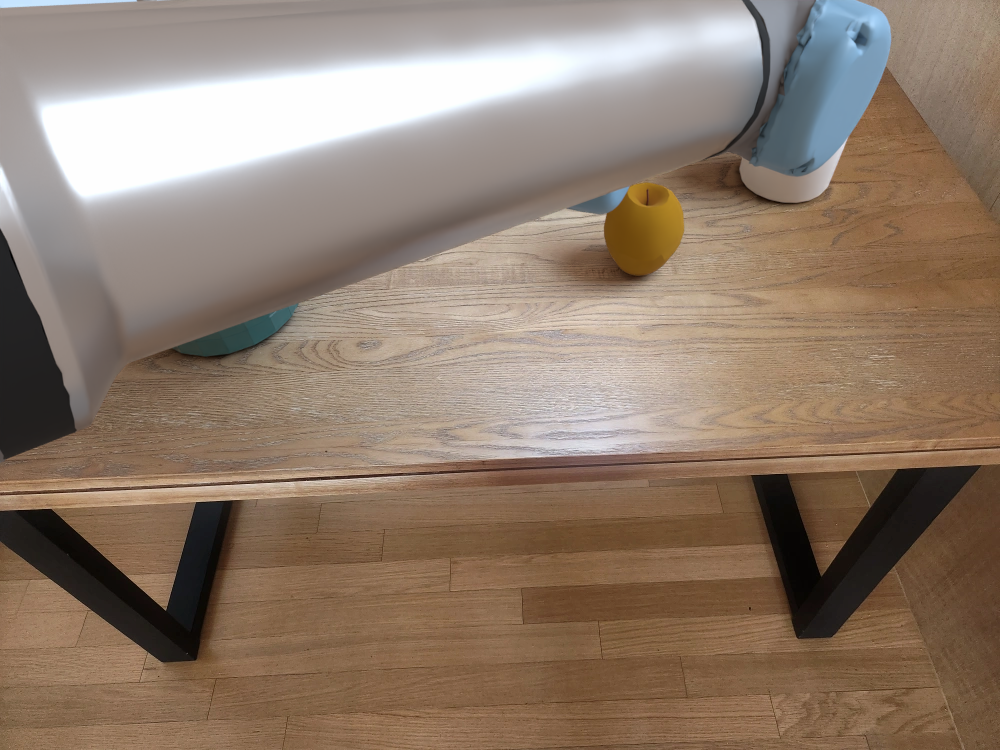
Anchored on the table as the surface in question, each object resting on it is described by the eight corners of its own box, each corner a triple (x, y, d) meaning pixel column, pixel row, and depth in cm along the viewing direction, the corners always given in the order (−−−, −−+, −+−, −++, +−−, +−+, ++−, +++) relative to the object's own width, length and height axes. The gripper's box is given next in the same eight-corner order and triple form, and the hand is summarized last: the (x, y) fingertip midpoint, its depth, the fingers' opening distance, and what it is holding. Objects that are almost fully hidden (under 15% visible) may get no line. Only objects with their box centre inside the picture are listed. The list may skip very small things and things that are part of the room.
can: (792, 217, 91) (846, 75, 76) (720, 177, 98) (755, 38, 82) (845, 180, 96) (905, 39, 80) (772, 145, 102) (815, 8, 87)
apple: (662, 236, 90) (677, 160, 81) (686, 285, 84) (705, 208, 75) (592, 246, 89) (599, 170, 80) (611, 295, 83) (620, 219, 74)
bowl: (197, 385, 77) (175, 351, 72) (130, 304, 85) (107, 270, 81) (331, 304, 84) (319, 268, 79) (257, 237, 93) (242, 202, 88)
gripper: (383, 218, 48) (144, 146, 55) (481, 113, 56) (262, 63, 63) (362, 122, 42) (98, 55, 49) (475, 21, 50) (235, -23, 57)
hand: (191, 60), depth 56 cm, fingers closed on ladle, 2 cm apart
